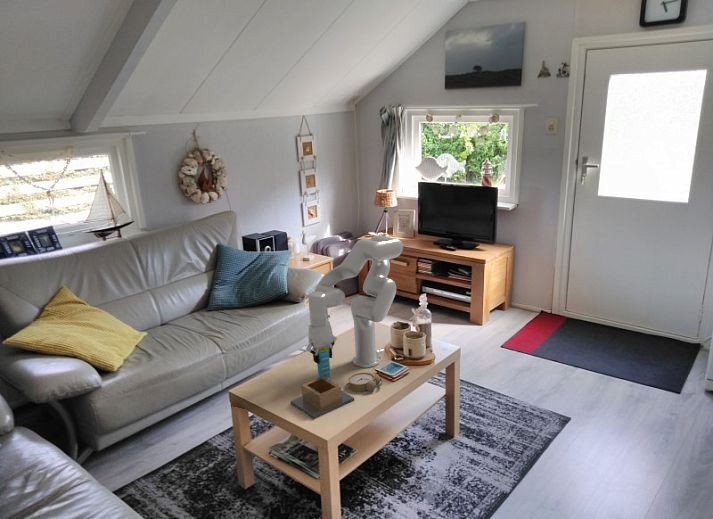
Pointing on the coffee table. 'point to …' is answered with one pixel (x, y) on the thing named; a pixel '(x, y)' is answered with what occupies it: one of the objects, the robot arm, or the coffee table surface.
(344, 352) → the coffee table surface
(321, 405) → the wooden box on base
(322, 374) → the tube
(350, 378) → the alarm clock
